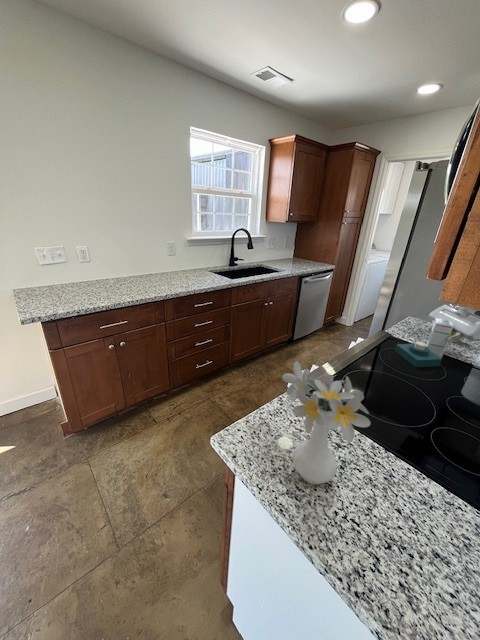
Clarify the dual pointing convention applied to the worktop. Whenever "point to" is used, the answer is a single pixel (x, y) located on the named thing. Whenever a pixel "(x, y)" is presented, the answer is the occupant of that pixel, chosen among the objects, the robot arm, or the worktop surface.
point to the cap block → (417, 355)
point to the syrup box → (439, 336)
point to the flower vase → (322, 421)
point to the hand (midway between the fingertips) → (438, 335)
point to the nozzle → (420, 345)
